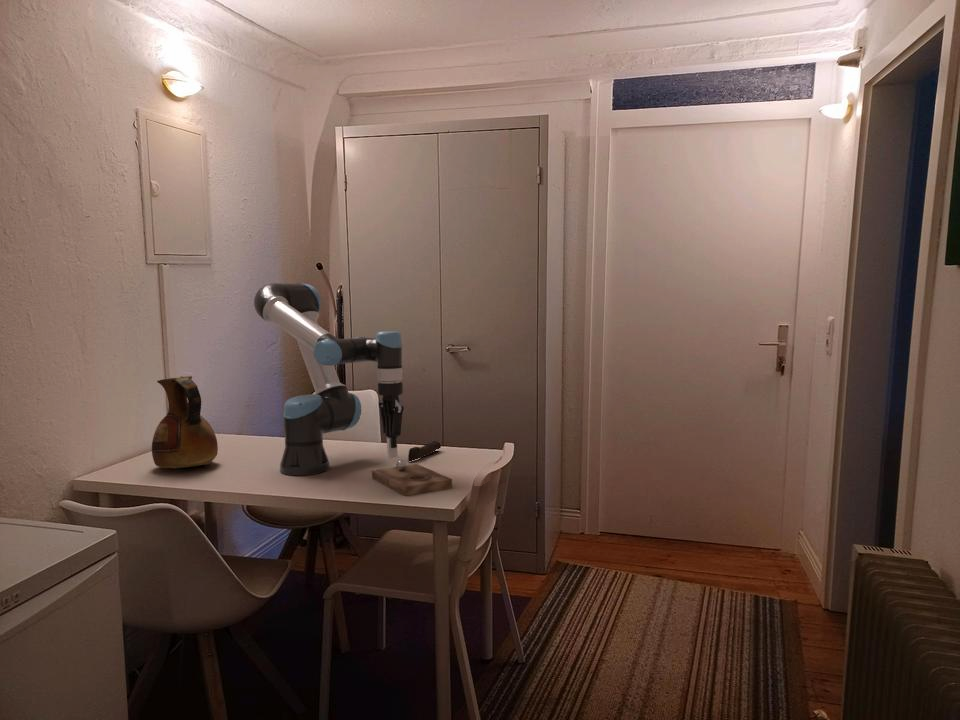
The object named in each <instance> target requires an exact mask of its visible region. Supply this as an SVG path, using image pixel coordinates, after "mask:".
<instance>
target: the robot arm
mask: <svg viewBox="0 0 960 720" xmlns="http://www.w3.org/2000/svg"><path fill="white" fill-rule="evenodd" d="M321 304H322V298H321V295H320V293H319V291H318V290H317V289H316V288H315V287H314V286H313V285H310V284H308V283H302V282H297V283H281V282H280V283H278V282H271V283H268V284H265V285H262V286H261V287H260V288H259V289H258V290H257V291H256V293H255V296H254V298H253V307H254V309H255V311H256V314H258V316H259V317H260V318H261V319H263V320H264V321H265V322H266V323H268V324H271V325H272V324H274V325H276V326H278V327H279V328H280V329H282V331H284V332H285V333H287V334H289V335H290V336H292V338H294V339H296V342H297V345H298V347H299V351H300V353H301V356H302V358H303V361H304V364H305V367H306V370H307V372H308V375H309V377H310V381H311V383H312V386H313V388H314V391H315V393H314V394H313V393H310V394H301V395H297V396H294V397H290V398H289V399H287V400H286V401H285V402H284V405H283V406H284V407H283V419H284V420H283V421H284V422H283V423H284V449H283V454H282V457H281V460H280V465H279V469H280V470H279V471H280V473H281V474H284V475H289V476H309V475H310V476H311V475H316V474H317V475H318V474H320V473H324V472H326V471H328V470H329V469H330V460H329V458H328V456H327V453H326V449H325V447H324V441H323V440H324V438H323V436H324V435H323V434H329V433H334V432H339V431H346V430H348V429H352V428H354V427H355V426H356V425H357V424H358V423H359V421H360V419H361V416H362V403H361V401H360V398H359V397H358V396H357V395H356V394H354V393H351V392H349V390H348V387H347V385H346V384H343V383H341V382H340V379H339V376H338V373H337V371H336V368H335V365H344V364H345V365H346V364H355V363H365V362H372V363H375V362H376V363H377V371H376V372H377V381H378V384H377V393H378V395H379V396H381V397H382V401H380V402H378V407H379V410H380V419H381V426H382V433H383V434H384V435H385V437H386V449H387V450H386V454H387V456H386V457H387V459H395V458H398V437H400V436H401V435H402V434H401V432H402V420H403V412H404V408H405V407H404V406H403V405H400V397H399V396H400V395H402V394H403V393H404V385H403V382H402V380H403V373H404V370H403V355H402V354H403V352H402V351H403V344H402V343H403V342H402V335H401V333H400V331H394V330H393V331H391V330H390V331H385V330H384V331H377V333H376V337H366V336H358V337H353V338H338V337H337V336H336V335H335V336H334V335H333V334H332V333H330V332H329V331H327V330H326V329H324V328H323V327H321V326H320V325H319V323H318V320H319V317H320V312H321V310H322V305H321Z"/></svg>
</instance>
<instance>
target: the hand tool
mask: <svg viewBox="0 0 960 720" xmlns="http://www.w3.org/2000/svg"><path fill="white" fill-rule="evenodd" d="M441 446H442V445H441V443H440V442H439V441H436V440H433V441H431V442H430V443H427V444H425V445H422V446H414V447H411V448H409V450H408V455H407V456H408V459H407V461H412V460H415V459H418V458H420V457H421V458H423V457H425V456H424V455H426V456H428V455H430V454H429V453H431V452H433V451H435V450H436V449H439V448H441ZM427 454H428V455H427ZM431 454H432V453H431ZM422 456H423V457H422ZM421 458H420V459H421Z"/></svg>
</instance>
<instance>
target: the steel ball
mask: <svg viewBox="0 0 960 720" xmlns="http://www.w3.org/2000/svg"><path fill="white" fill-rule="evenodd" d="M407 465H408V462H407V461H406V460H404V459H401V460H400V459H399V460H398V461H397V462H396V467H397V468H398V469H399V470H401V471H403V470H405V469H406V468H407Z"/></svg>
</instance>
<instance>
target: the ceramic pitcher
mask: <svg viewBox="0 0 960 720" xmlns="http://www.w3.org/2000/svg"><path fill="white" fill-rule="evenodd" d="M156 382H157V383H158V384H159V385H160V386H161V387H162V388H163V389H164V391H165V393H166V398H167V401H168V402H167V403H168V410H167V414H166V415H165V416H164V417H163V418H162V419H161V420H160V421H159V422H158V425H157V426H156V428H155V431H154V434H153V437H152V442H151V455H152V459H153V463H154V465H155V466H156V467H159V468H165V469H185V468H190V467H191V468H192V467H198V466H202V465H208V464H211V463H212V462H213V461H214V460H215V458H216V457H217V455H218V448H219V447H218V439H217V436H216V433H215V431H214V429H213V428H212V426H211V424H210V423H209V422H208V420H207V419H205V418H204V417H203V415H201V411H202V396H201V394H200V390H199V387H198V385H197V384H196V382H195V381H194V380H193V376H192V375H188V376H183V375H181V376H179V377H174V378H173V377H171V378H164V379H160V380H156Z"/></svg>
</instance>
